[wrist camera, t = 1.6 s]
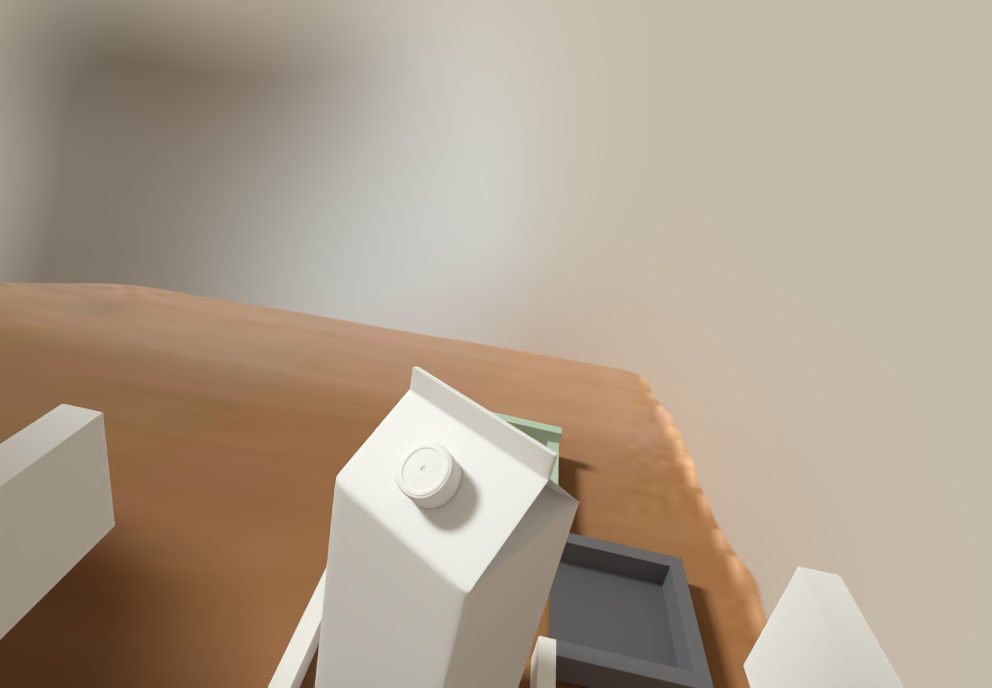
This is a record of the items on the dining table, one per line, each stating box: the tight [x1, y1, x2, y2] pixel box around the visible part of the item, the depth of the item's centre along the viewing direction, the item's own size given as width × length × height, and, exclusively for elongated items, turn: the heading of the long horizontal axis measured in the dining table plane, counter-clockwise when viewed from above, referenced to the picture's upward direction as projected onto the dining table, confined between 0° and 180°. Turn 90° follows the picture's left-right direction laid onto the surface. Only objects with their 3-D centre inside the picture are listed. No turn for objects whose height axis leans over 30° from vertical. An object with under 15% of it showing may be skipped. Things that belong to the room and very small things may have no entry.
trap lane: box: [268, 412, 714, 688], centre depth 34 cm, size 23×42×3 cm, turn 174°
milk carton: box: [315, 366, 579, 688], centre depth 26 cm, size 7×7×19 cm
